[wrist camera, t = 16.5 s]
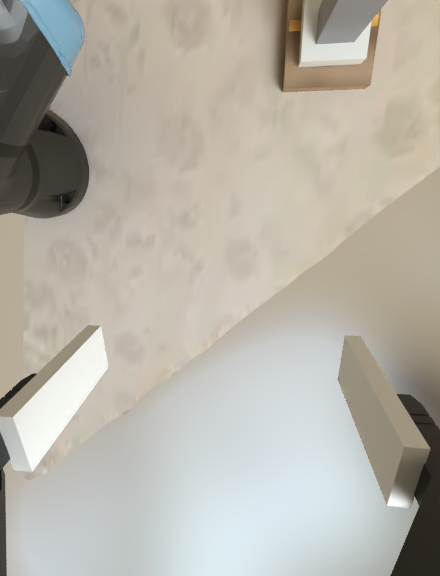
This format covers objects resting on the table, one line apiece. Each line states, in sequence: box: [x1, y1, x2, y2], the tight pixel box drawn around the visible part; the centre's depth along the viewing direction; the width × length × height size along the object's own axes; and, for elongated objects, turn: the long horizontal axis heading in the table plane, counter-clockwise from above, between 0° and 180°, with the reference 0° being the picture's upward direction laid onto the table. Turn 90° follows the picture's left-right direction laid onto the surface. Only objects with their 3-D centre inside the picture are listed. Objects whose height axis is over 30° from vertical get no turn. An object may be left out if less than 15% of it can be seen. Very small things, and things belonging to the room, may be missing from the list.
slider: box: [298, 0, 388, 67], centre depth 27 cm, size 6×7×14 cm
